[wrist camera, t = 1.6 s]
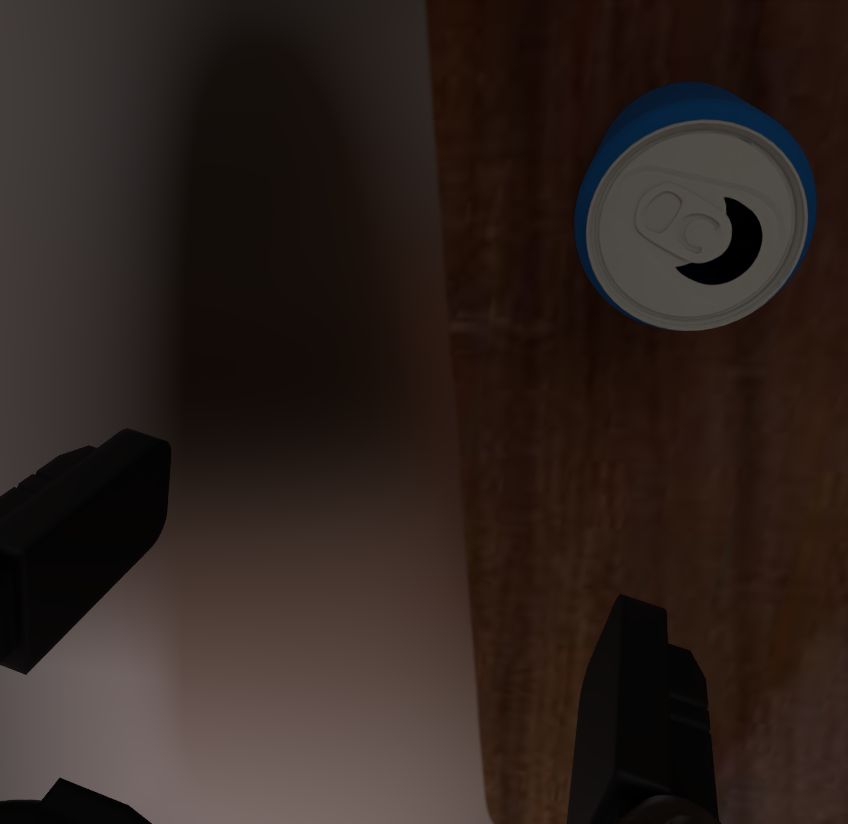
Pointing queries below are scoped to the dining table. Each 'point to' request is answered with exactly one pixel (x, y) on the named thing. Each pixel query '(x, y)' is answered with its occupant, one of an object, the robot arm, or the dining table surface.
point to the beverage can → (694, 209)
